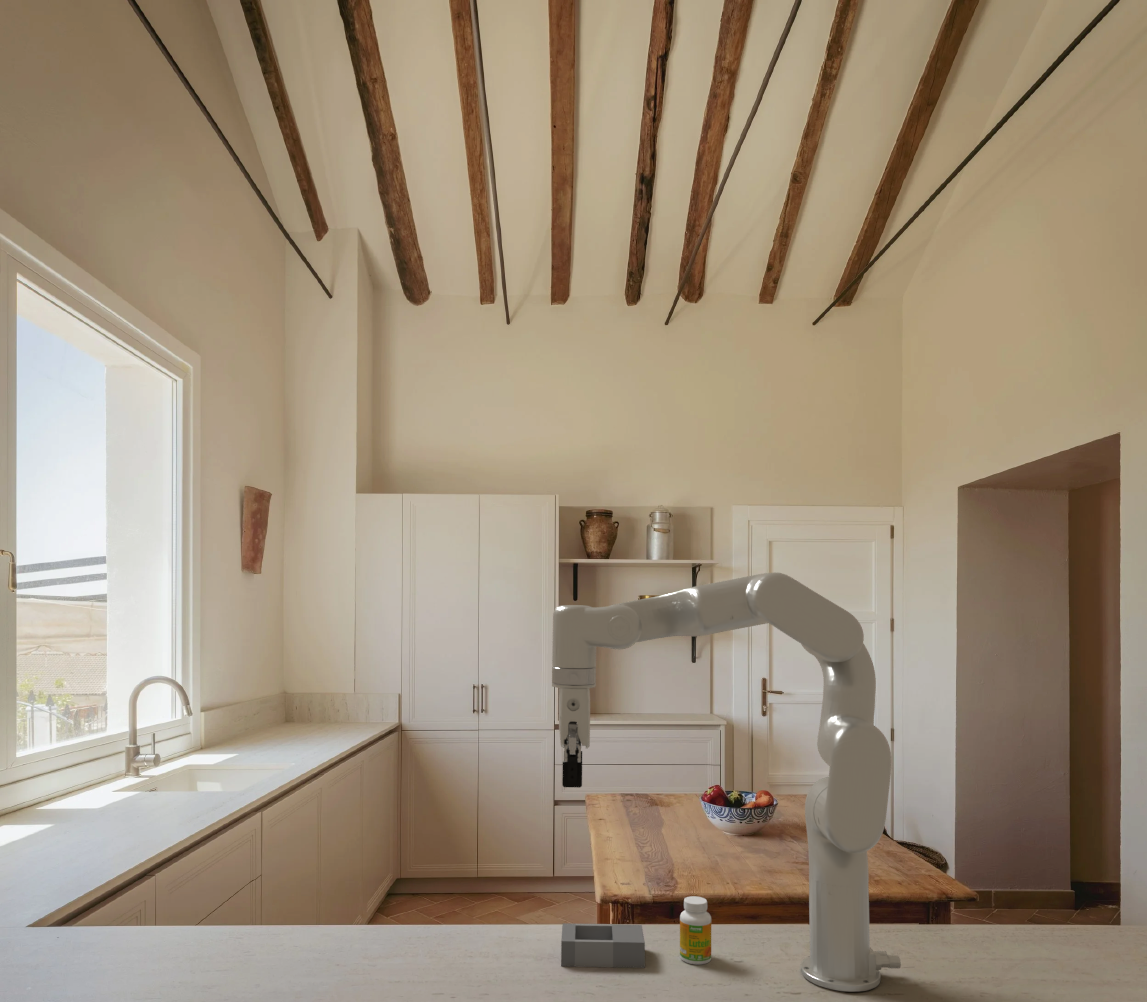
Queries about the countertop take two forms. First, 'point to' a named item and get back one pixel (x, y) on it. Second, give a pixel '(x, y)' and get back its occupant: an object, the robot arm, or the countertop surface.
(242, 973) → the countertop surface
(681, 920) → the supplement bottle
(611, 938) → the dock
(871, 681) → the robot arm
